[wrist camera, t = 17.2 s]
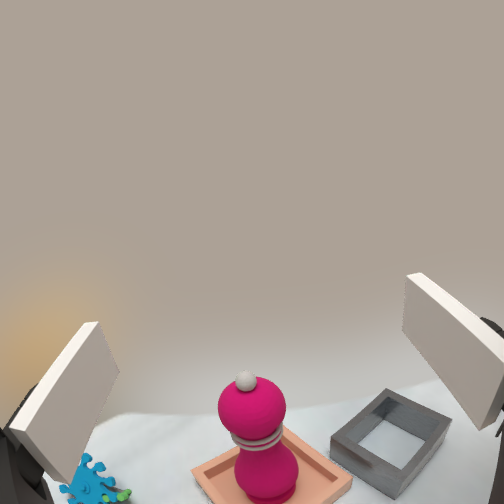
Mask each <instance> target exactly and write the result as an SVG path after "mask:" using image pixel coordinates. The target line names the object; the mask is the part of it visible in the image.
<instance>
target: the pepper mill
mask: <svg viewBox="0 0 504 504" xmlns="http://www.w3.org/2000/svg"><path fill="white" fill-rule="evenodd" d="M285 412H286V403H285V399H284V396H283V393H282V392H281V390H280V389H279V388H278V387H277V386H276V385H275V384H274V383H273V382H271V381H269V380H267V379H264V378H261V377H256V376H255V375H254V374H253V373H252V372H249V371H242V372H241V373H239V374H238V375H237V376H236V379H235V381H234V382H233V383H231V384H230V385H228V386H227V387H226V388H225V389H224V391H223V392H222V394H221V396H220V398H219V401H218V413H219V417H220V420H221V422H222V424H223V425H224V426H225V428H226V429H227V430H228V431H230V434H231V437H232V440H233V441H234V443H235V444H236V445H238V446H239V447H240V453H239V455H238V457H237V459H236V461H235V466H234V474H235V478H236V482H237V484H238V485H239V487H240V488H241V489H242V490H243V491H245V493H246V495H247V497H248V498H249V499H250V500H251V501H252V502H253V503H255V504H282V503H284V502H286V501H287V500H289V499H290V498H291V497H292V495H293V494H294V492H295V489H296V480H297V478H298V474H299V467H298V463H297V460H296V457H295V456H294V454H293V453H292V452H291V450H290V449H289V448H287V447H286V446H285V445H284V444H283V443H282V442H281V440H280V438H281V437H282V434H283V422H282V421H283V419H284V416H285Z"/></svg>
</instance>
